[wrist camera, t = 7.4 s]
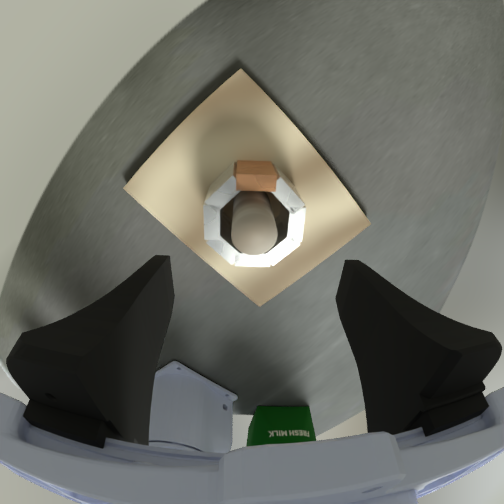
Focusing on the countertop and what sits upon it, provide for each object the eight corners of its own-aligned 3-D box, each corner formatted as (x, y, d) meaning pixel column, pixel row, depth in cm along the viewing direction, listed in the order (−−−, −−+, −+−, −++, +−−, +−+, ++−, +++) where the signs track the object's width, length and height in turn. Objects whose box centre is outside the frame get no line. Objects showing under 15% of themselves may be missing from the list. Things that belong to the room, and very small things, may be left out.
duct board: (367, 219, 21) (398, 256, 16) (259, 300, 24) (263, 350, 20) (240, 69, 16) (240, 57, 11) (127, 184, 19) (93, 215, 14)
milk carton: (317, 402, 34) (342, 542, 16) (298, 430, 38) (312, 546, 21) (251, 401, 33) (257, 553, 15) (241, 430, 37) (243, 552, 20)
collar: (290, 240, 21) (298, 267, 18) (210, 238, 20) (205, 265, 17) (297, 162, 18) (309, 177, 15) (209, 160, 18) (202, 173, 15)
